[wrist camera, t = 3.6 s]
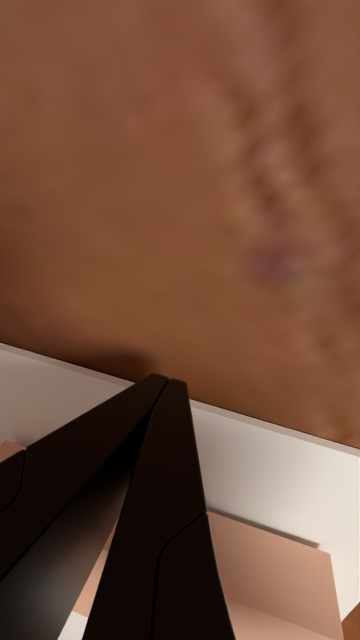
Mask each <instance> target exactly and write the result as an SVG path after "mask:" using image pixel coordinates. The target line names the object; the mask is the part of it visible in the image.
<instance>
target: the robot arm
mask: <svg viewBox="0 0 360 640" xmlns="http://www.w3.org/2000/svg"><path fill="white" fill-rule="evenodd" d="M118 518H119V519H118ZM117 520H118V522H117ZM116 522H117V525H116V529H115V532H114V535H113V538H112V542H111V545H110V548H109V551H108V555H107V558H106V561H105V565H104V568H103V571H102V574H101V578H100V581H99V584H98V587H97V591H96V594H95V597H94V601H93V604H92V607H91V610H90V614H89V617H88V620H87V623H86V627H85V630H84V633H83V636H82V640H236V637H235V634H234V630H233V626H232V623H231V619H230V615H229V611H228V607H227V603H226V599H225V595H224V591H223V587H222V583H221V579H220V575H219V570H218V565H217V560H216V555H215V550H214V545H213V540H212V534H211V528H210V522H209V516H208V514H207V505H206V499H205V492H204V486H203V480H202V474H201V468H200V462H199V455H198V449H197V443H196V437H195V431H194V425H193V418H192V412H191V406H190V400H189V394H188V388H187V384H186V382H184V381H181V380H177V379H174V378H171V379H169V378H168V377H167V376H163V375H160V374H157V373H152V374H150V375H148V376H147V377H145V378H143V379H142V380H140V381H138V382H137V383H135V384H133V385H131V386H130V387H128V388H126V389H125V390H123V391H121V392H119V393H118V394H116V395H114V396H113V397H111V398H109V399H107V400H106V401H104V402H102V403H101V404H99V405H97V406H96V407H94V408H92V409H90V410H89V411H87V412H85V413H84V414H82V415H80V416H78V417H77V418H75V419H73V420H72V421H70V422H68V423H66V424H65V425H63V426H61V427H60V428H58V429H56V430H55V431H53V432H51V433H49V434H48V435H46V436H44V437H43V438H41V439H39V440H37V441H36V442H34V443H32V444H31V445H29V446H27V447H26V451H25V450H24V449H22V450H20V451H18V452H17V453H15V454H13V455H12V456H10V457H8V458H6V459H5V460H3V461H1V462H0V640H58V638H59V636H60V634H61V632H62V630H63V628H64V626H65V624H66V622H67V620H68V618H69V616H70V614H71V612H72V610H73V608H74V606H75V604H76V602H77V600H78V598H79V596H80V594H81V592H82V590H83V588H84V586H85V584H86V582H87V580H88V578H89V576H90V574H91V572H92V570H93V568H94V566H95V564H96V562H97V560H98V558H99V556H100V554H101V552H102V550H103V548H104V546H105V544H106V542H107V540H108V538H109V536H110V534H111V532H112V530H113V528H114V526H115V524H116Z"/></svg>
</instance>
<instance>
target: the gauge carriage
mask: <svg viewBox="0 0 360 640" xmlns="http://www.w3.org/2000/svg"><path fill="white" fill-rule="evenodd" d="M22 449H24V450H25V451H26V447H24V446H21V445H18V444H15V443H12V442H9V441H7V440H5V441H4V442H3V443H2V444H1V445H0V462H1V461H3V460H5V459H6V458H8V457H10V456H12V455H13V454H15V453H17V452H18V451H20V450H22ZM207 514H208V516H209V522H210V528H211V534H212V540H213V545H214V550H215V555H216V560H217V565H218V570H219V575H220V579H221V583H222V587H223V591H224V595H225V599H226V603H227V607H228V611H229V615H230V619H231V623H232V626H233V630H234V634H235V637H236V640H344V638H343V631H342V625H341V619H340V613H339V607H338V600H337V594H336V588H335V582H334V575H333V569H332V563H331V557H330V553H327V552H324V551H321V550H318V549H315V548H313V547H310V546H307V545H304V544H301V543H298V542H295V541H293V540H290V539H287V538H284V537H281V536H278V535H275V534H273V533H270V532H267V531H264V530H261V529H258V528H255V527H252V526H250V525H247V524H244V523H241V522H238V521H235V520H232V519H230V518H227V517H224V516H221V515H218V514H215V513H212V512H210V511H207ZM118 519H119V518H118ZM117 522H118V520H117ZM117 522H116V524H115V526H114V528H113V530H112V532H111V534H110V536H109V538H108V540H107V542H106V544H105V546H104V548H103V550H102V552H101V554H100V556H99V558H98V560H97V562H96V564H95V566H94V568H93V570H92V572H91V574H90V576H89V578H88V580H87V582H86V584H85V586H84V588H83V590H82V592H81V594H80V596H79V598H78V600H77V602H76V604H75V606H74V608H73V610H72V611H73V612H76V613H78V614H80V615H83V616H85V617H87V618H88V617H89V614H90V610H91V607H92V604H93V601H94V597H95V594H96V591H97V587H98V584H99V581H100V578H101V574H102V571H103V568H104V565H105V561H106V558H107V555H108V551H109V548H110V545H111V542H112V538H113V535H114V532H115V529H116V525H117Z"/></svg>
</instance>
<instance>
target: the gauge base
mask: <svg viewBox="0 0 360 640" xmlns="http://www.w3.org/2000/svg"><path fill="white" fill-rule="evenodd" d="M133 384H135V383H134V382H131V381H127V380H124V379H120V378H117V377H114V376H110V375H107V374H104V373H100V372H97V371H94V370H90V369H87V368H83V367H80V366H77V365H73V364H70V363H67V362H63V361H60V360H57V359H53V358H50V357H46V356H43V355H40V354H36V353H33V352H30V351H26V350H23V349H19V348H16V347H13V346H9V345H6V344H3V343H0V445H1V444H2V443H3V442H4V441H5V440H7V441H9V442H12V443H15V444H18V445H21V446H24V447H27V446H29V445H31V444H32V443H34V442H36V441H37V440H39V439H41V438H43V437H44V436H46V435H48V434H49V433H51V432H53V431H55V430H56V429H58V428H60V427H61V426H63V425H65V424H66V423H68V422H70V421H72V420H73V419H75V418H77V417H78V416H80V415H82V414H84V413H85V412H87V411H89V410H90V409H92V408H94V407H96V406H97V405H99V404H101V403H102V402H104V401H106V400H107V399H109V398H111V397H113V396H114V395H116V394H118V393H119V392H121V391H123V390H125V389H126V388H128V387H130V386H131V385H133ZM189 400H190V406H191V412H192V418H193V425H194V431H195V437H196V443H197V449H198V455H199V462H200V468H201V474H202V480H203V486H204V492H205V499H206V505H207V511H210V512H212V513H215V514H218V515H221V516H224V517H227V518H230V519H232V520H235V521H238V522H241V523H244V524H247V525H250V526H252V527H255V528H258V529H261V530H264V531H267V532H270V533H273V534H275V535H278V536H281V537H284V538H287V539H290V540H293V541H295V542H298V543H301V544H304V545H307V546H310V547H313V548H315V549H318V550H321V551H324V552H327V553H330V557H331V563H332V569H333V575H334V582H335V588H336V594H337V600H338V607H339V613H340V619H341V621H342V620H343V619H344V618H345V617H346V616H347V615H348V614H349V613H350V612H351V610H352V609H353V608H354V607H355V606H356V605H357V604H358V603H359V602H360V450H359V449H356V448H353V447H349V446H346V445H343V444H339V443H336V442H332V441H329V440H326V439H322V438H319V437H316V436H312V435H309V434H306V433H302V432H299V431H295V430H292V429H289V428H285V427H282V426H279V425H275V424H272V423H269V422H265V421H262V420H258V419H255V418H252V417H248V416H245V415H242V414H238V413H235V412H231V411H228V410H225V409H221V408H218V407H215V406H211V405H208V404H205V403H201V402H198V401H194V400H191V399H189ZM87 620H88V618H87V617H85V616H83V615H80V614H78V613H76V612H73V611H72V612H71V614H70V616H69V618H68V620H67V622H66V624H65V626H64V628H63V630H62V632H61V634H60V636H59V638H58V640H82V636H83V633H84V630H85V627H86V623H87Z"/></svg>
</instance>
